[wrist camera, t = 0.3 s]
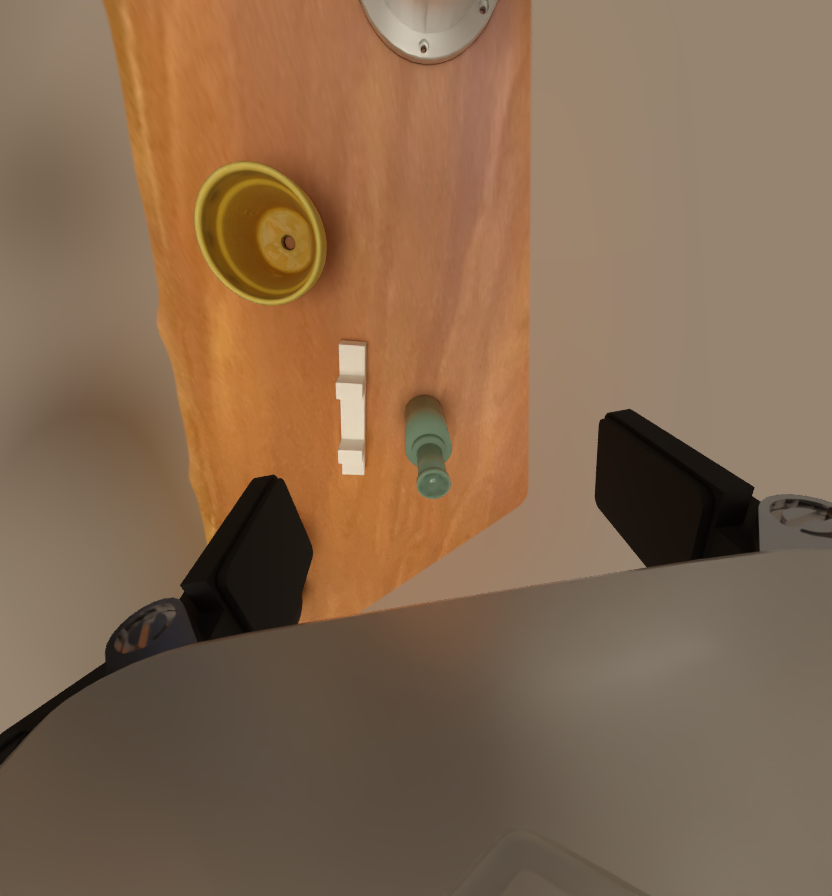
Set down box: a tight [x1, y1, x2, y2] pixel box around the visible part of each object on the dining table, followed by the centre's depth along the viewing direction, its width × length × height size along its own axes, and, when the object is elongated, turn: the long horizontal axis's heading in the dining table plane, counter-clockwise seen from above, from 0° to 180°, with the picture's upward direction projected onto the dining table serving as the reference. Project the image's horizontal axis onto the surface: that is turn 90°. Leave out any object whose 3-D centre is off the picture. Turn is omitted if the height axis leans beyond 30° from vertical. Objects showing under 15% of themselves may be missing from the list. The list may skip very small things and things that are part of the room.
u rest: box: [336, 340, 366, 475], centre depth 45 cm, size 18×3×5 cm, turn 176°
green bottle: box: [405, 395, 452, 499], centre depth 41 cm, size 5×5×17 cm
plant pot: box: [194, 161, 327, 305], centre depth 34 cm, size 10×10×10 cm
